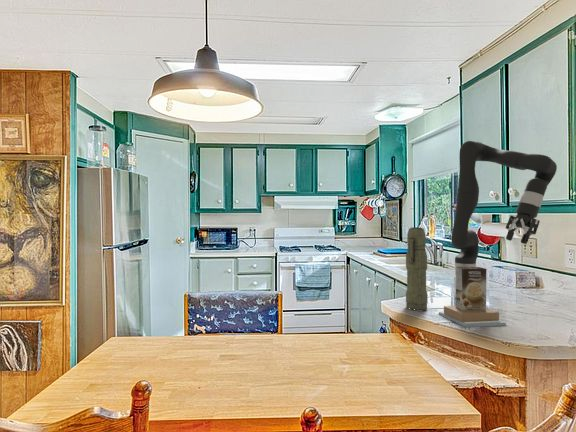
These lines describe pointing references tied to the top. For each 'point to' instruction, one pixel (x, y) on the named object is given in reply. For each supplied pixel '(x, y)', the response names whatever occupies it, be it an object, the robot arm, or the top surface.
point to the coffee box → (471, 288)
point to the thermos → (416, 269)
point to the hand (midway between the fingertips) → (515, 241)
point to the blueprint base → (472, 317)
